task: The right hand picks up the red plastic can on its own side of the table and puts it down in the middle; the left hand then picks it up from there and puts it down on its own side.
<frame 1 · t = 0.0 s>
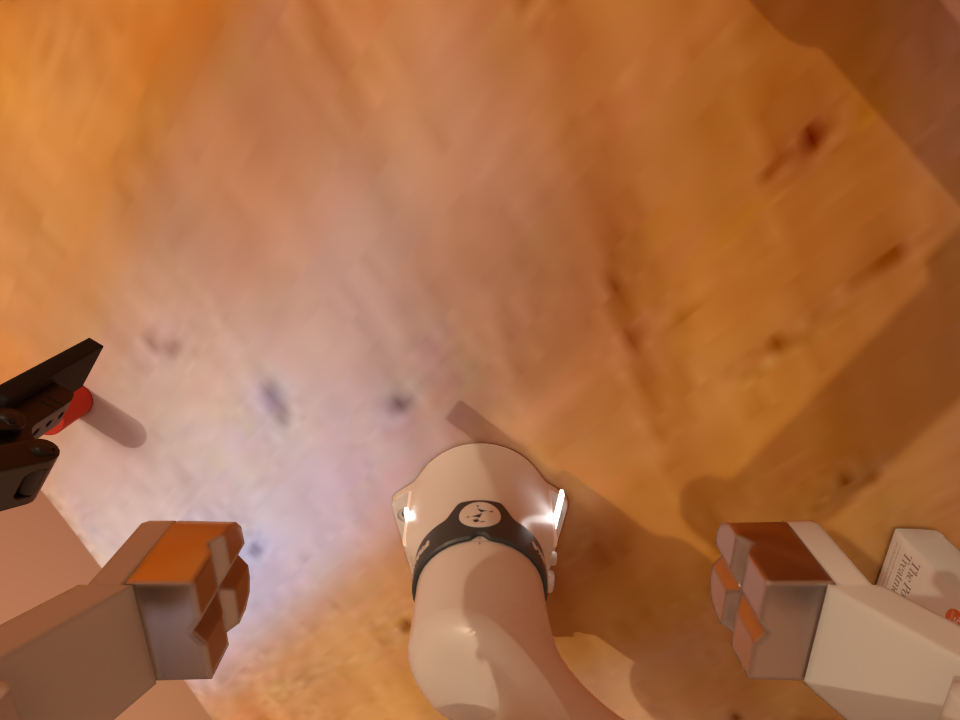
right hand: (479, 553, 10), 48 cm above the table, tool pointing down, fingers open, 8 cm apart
can: (74, 398, 62), on the table
skincare box: (886, 602, 71), on the table
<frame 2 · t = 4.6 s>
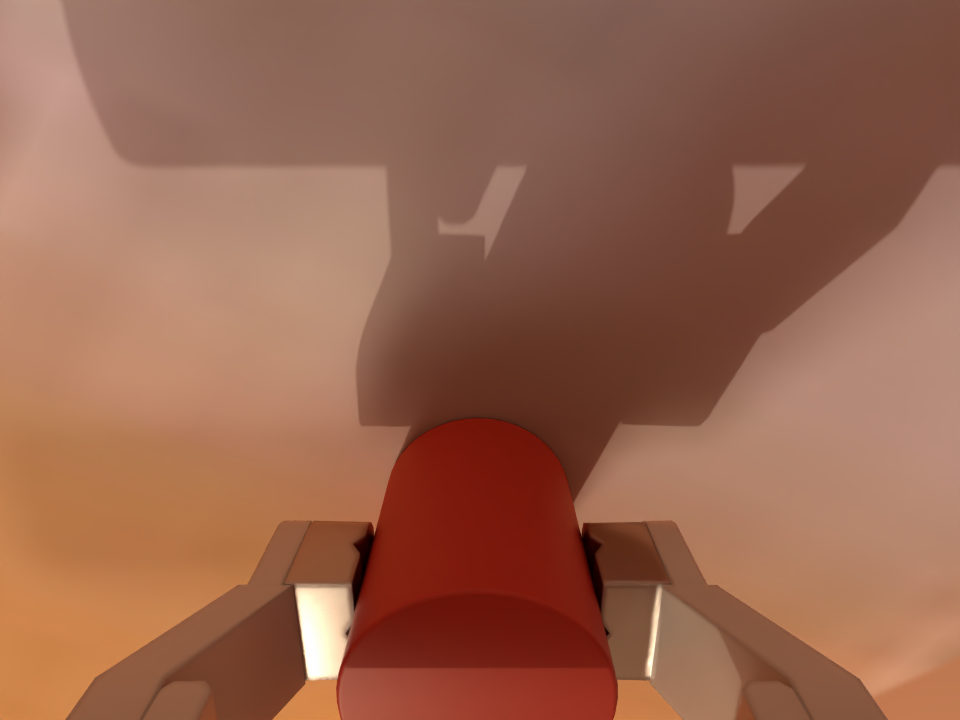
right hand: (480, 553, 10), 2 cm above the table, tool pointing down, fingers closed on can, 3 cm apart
can: (478, 498, 12), on the table, touching right hand
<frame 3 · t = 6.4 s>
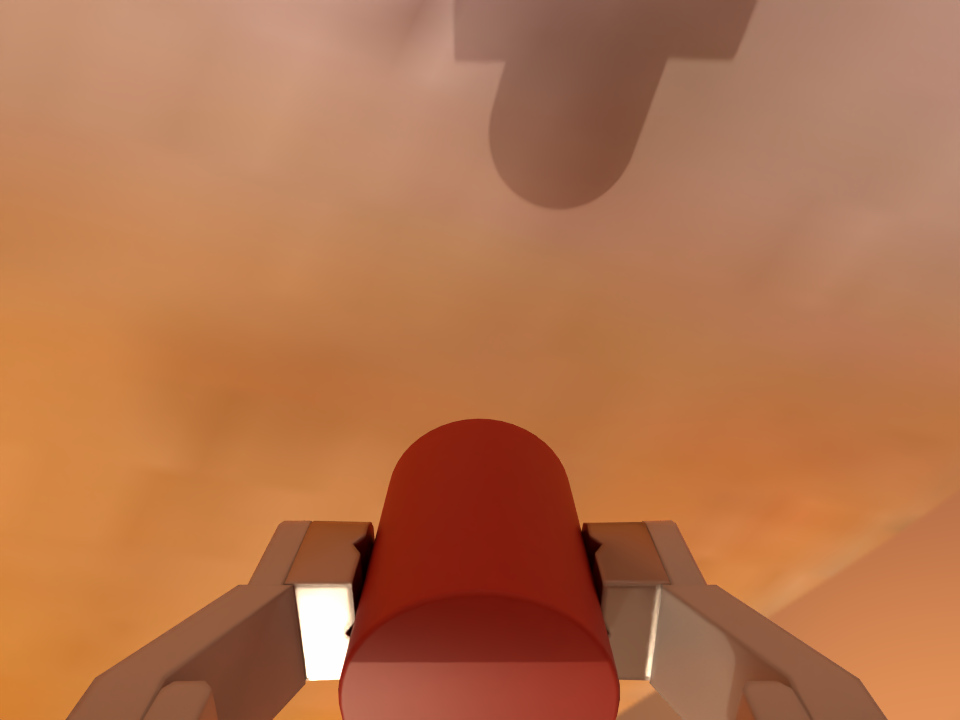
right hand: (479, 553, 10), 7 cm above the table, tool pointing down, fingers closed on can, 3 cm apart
can: (479, 499, 12), point 5 cm above the table, touching right hand
when the right hand's fingers open (2 cm above the table, at t = 8.5 s): can stays where it is, on the table.
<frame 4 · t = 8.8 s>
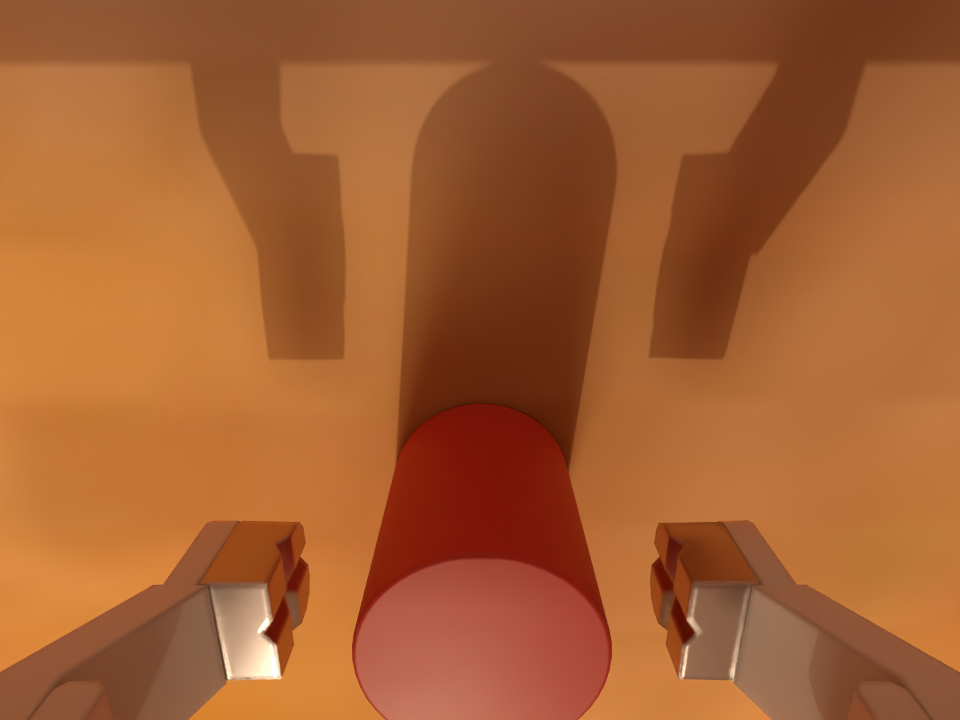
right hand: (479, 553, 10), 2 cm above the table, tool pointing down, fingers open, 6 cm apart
can: (481, 480, 13), on the table
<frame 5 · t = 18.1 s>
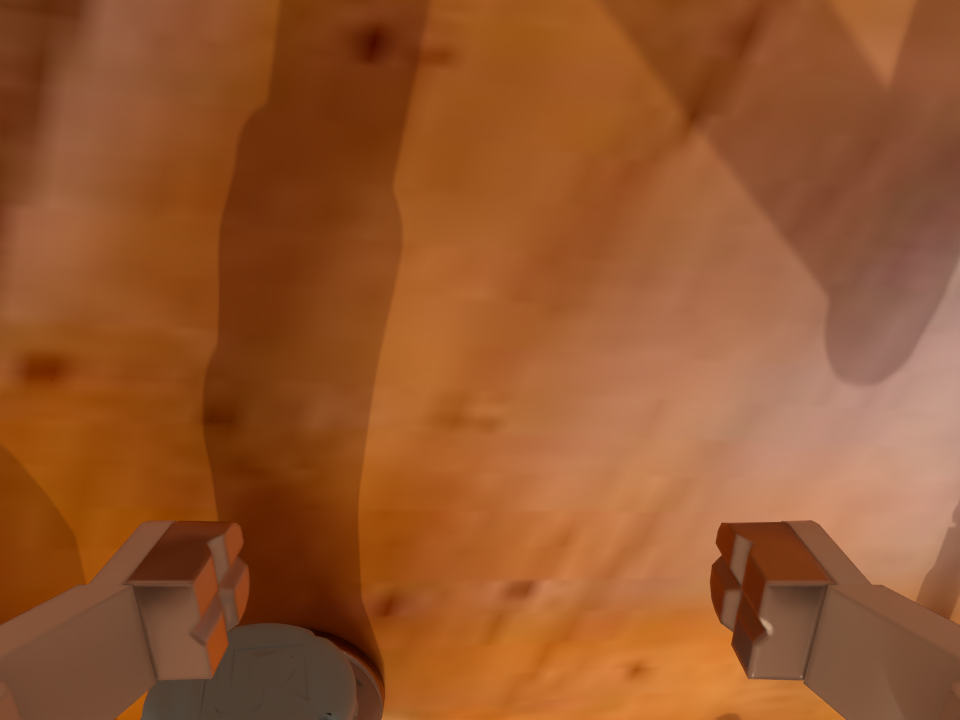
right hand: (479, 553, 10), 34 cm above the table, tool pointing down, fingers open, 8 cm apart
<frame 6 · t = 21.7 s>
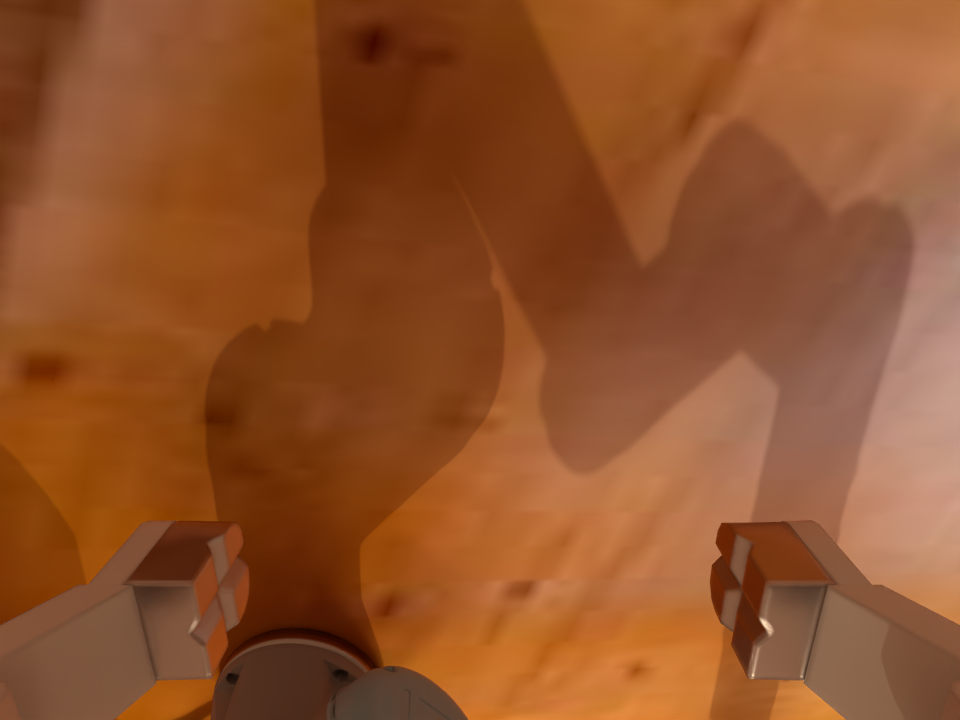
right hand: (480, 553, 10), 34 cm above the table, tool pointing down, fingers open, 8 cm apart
when the left hand's fingers open (0 cm above the table, at t = 25.9 s): can stays where it is, on the table.
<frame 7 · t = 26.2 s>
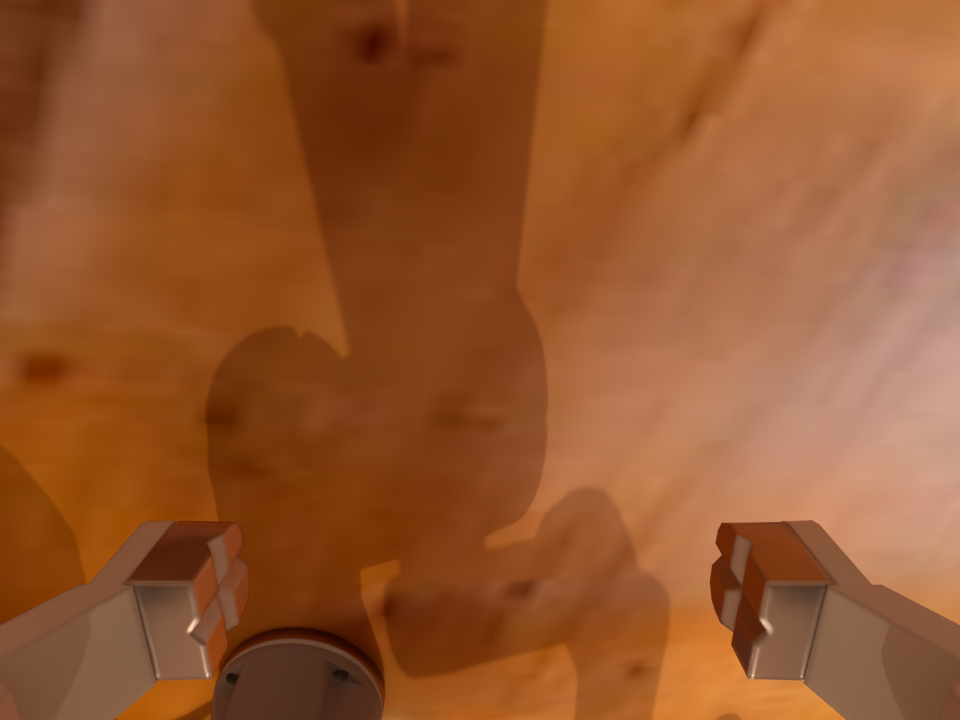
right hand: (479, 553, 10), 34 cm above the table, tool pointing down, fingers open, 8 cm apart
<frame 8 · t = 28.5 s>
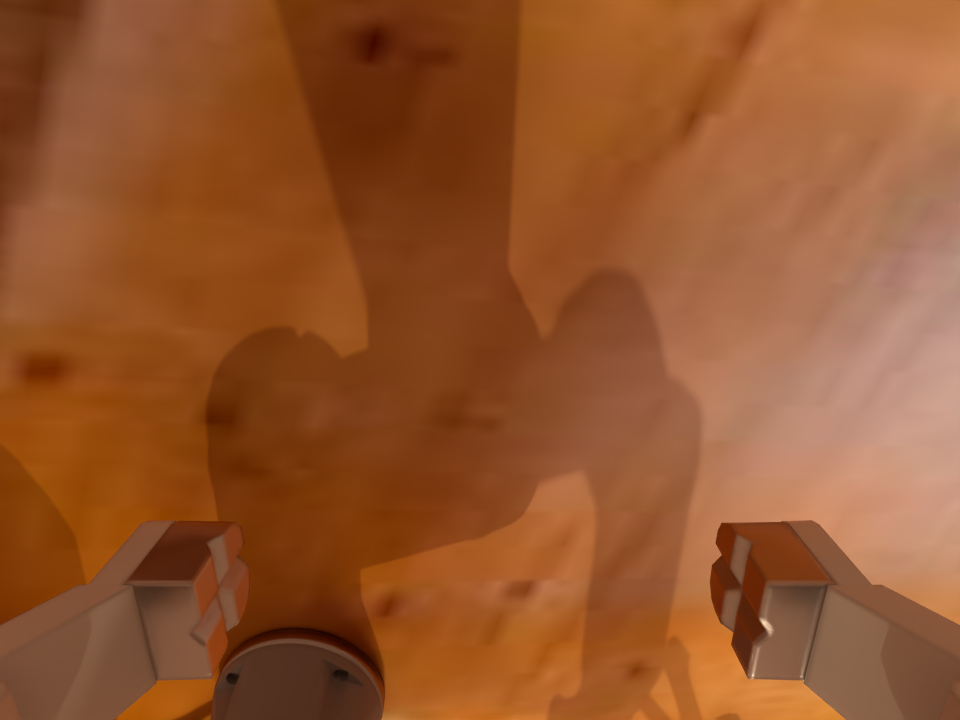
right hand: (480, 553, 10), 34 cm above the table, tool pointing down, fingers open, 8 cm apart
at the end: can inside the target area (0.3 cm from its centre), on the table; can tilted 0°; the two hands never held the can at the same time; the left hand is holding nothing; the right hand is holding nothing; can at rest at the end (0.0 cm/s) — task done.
